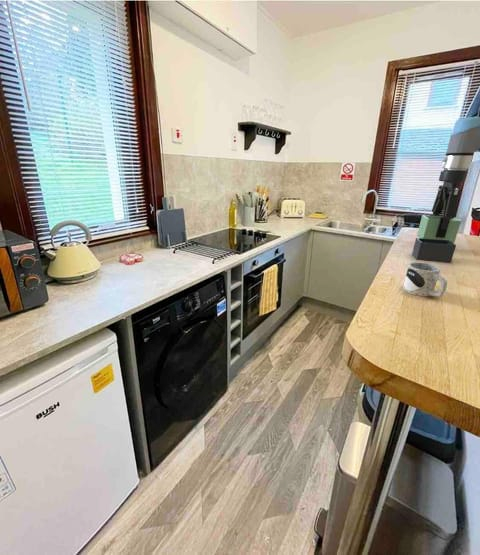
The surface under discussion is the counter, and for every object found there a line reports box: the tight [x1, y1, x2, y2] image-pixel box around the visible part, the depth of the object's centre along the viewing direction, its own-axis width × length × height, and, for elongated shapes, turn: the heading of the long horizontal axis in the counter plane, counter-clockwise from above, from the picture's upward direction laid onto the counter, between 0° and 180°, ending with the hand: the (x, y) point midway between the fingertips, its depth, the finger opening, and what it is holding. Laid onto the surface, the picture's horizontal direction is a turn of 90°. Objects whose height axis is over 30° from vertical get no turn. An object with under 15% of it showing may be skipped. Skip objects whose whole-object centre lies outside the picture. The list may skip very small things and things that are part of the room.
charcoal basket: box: [411, 237, 457, 264], centre depth 93 cm, size 10×6×6 cm, turn 72°
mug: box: [402, 261, 448, 298], centre depth 68 cm, size 10×7×7 cm, turn 14°
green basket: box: [416, 214, 462, 244], centre depth 101 cm, size 10×8×8 cm
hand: (436, 234), depth 102 cm, fingers closed on green basket, 8 cm apart
